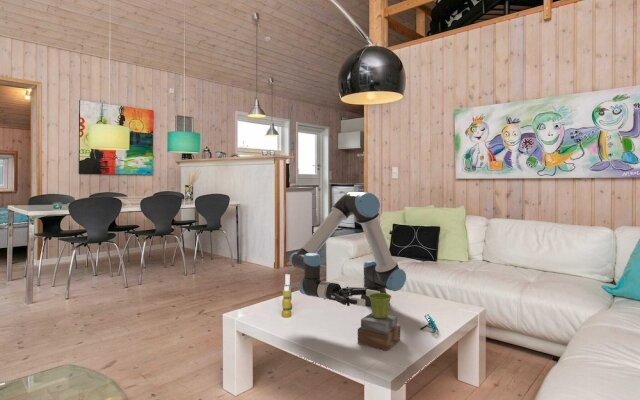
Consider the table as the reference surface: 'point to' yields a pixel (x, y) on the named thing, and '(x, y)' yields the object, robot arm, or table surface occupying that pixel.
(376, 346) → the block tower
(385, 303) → the plant pot
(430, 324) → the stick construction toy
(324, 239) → the robot arm
